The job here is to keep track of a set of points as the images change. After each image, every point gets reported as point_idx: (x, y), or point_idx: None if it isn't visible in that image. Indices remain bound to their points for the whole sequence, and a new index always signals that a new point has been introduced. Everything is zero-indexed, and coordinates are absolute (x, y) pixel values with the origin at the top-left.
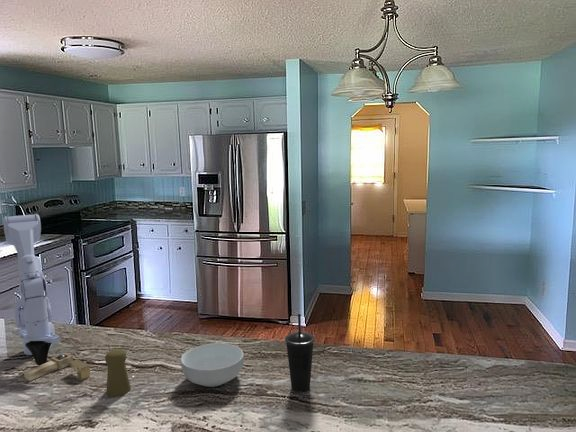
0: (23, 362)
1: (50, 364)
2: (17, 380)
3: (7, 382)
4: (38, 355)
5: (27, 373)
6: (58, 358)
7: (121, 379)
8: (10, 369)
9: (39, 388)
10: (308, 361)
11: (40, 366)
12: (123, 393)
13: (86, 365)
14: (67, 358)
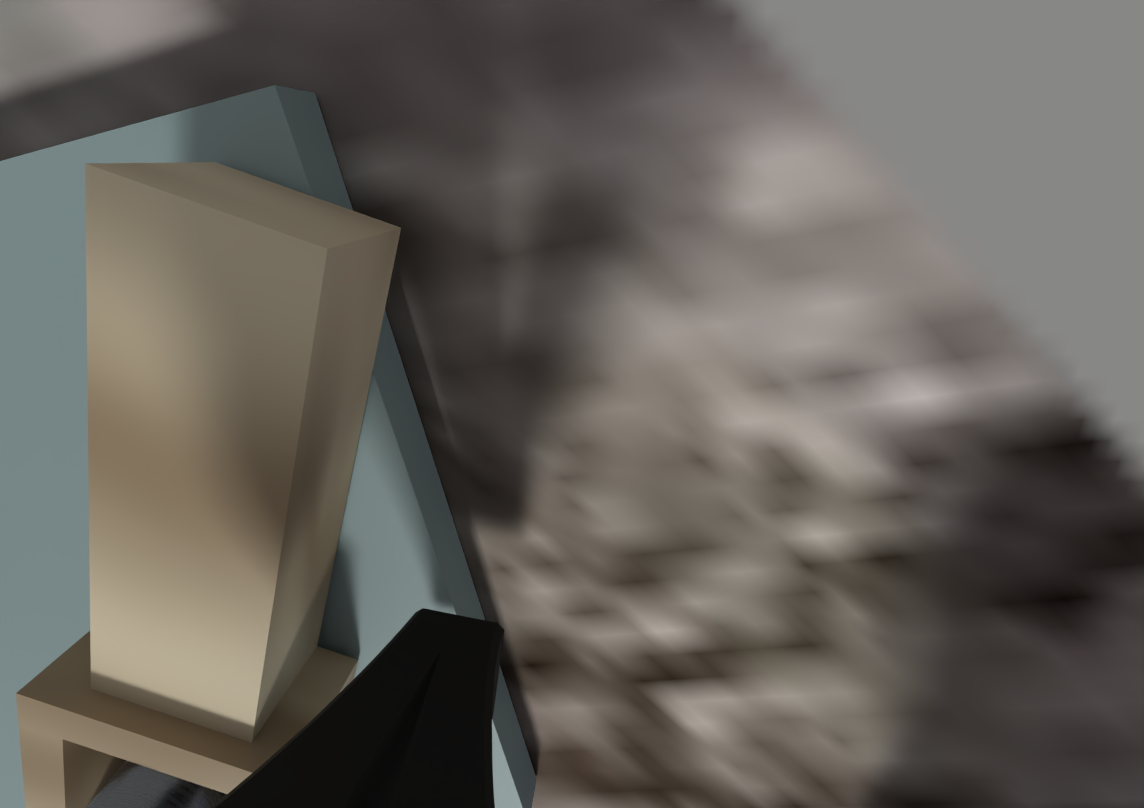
0: (999, 748)
1: (117, 614)
2: (636, 253)
3: (778, 141)
4: (225, 801)
5: (157, 188)
6: (165, 785)
7: None
8: (1082, 558)
9: (5, 93)
10: None
11: (220, 529)
12: None
13: None
14: (31, 790)
